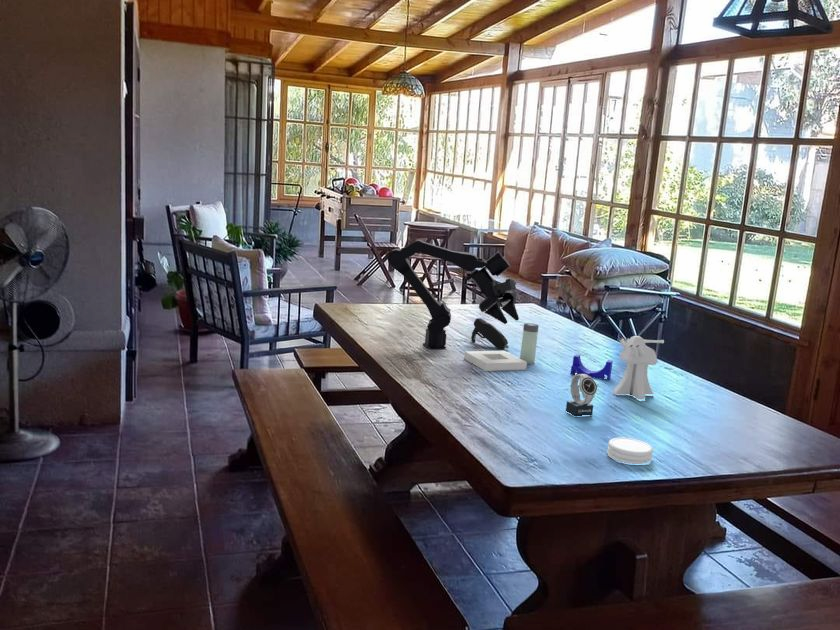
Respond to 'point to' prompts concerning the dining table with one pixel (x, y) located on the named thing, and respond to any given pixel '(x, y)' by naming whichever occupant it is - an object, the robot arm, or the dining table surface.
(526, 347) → the capped bottle
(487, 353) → the housing
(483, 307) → the robot arm
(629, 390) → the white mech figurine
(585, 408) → the watch
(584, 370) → the blue cradle stand
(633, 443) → the coaster
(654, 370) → the dining table surface
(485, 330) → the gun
